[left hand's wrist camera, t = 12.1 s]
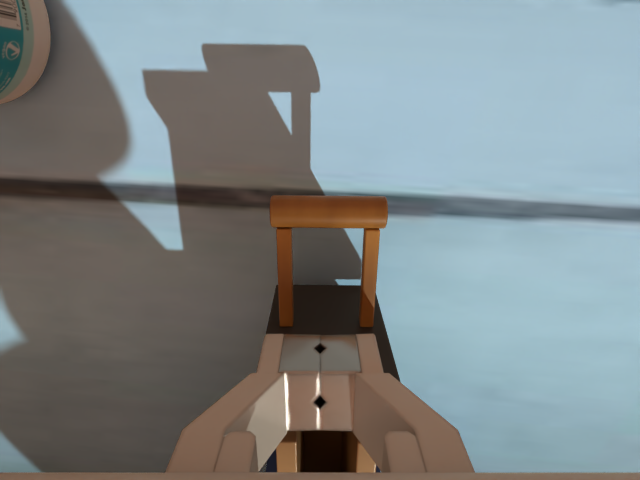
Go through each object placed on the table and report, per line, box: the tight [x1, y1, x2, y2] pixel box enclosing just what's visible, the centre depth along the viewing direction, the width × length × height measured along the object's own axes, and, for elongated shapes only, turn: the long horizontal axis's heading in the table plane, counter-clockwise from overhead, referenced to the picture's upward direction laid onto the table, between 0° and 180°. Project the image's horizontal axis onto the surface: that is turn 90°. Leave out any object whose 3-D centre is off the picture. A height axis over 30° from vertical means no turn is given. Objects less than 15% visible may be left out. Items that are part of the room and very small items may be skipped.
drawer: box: [266, 195, 401, 473], centre depth 19 cm, size 23×5×8 cm, turn 179°
